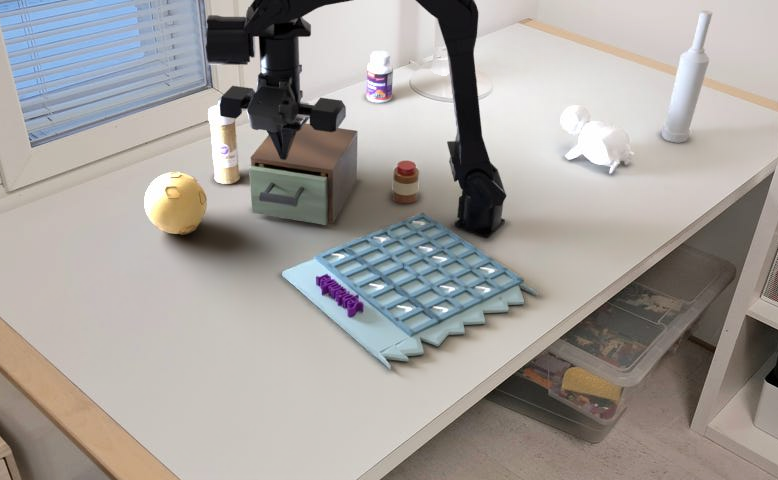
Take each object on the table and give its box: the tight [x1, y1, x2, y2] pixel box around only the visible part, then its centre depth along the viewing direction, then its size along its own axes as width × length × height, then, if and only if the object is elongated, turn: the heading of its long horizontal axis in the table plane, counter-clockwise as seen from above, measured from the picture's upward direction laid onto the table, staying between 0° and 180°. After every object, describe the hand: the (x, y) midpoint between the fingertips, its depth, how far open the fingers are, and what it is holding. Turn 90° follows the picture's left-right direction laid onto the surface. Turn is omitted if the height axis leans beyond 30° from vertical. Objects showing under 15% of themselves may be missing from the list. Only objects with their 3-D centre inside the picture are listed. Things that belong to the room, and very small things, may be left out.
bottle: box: [661, 9, 713, 144], centre depth 166 cm, size 5×5×25 cm
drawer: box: [248, 163, 329, 226], centre depth 146 cm, size 18×13×8 cm
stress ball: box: [144, 171, 208, 236], centre depth 141 cm, size 10×10×10 cm
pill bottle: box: [366, 49, 394, 104], centre depth 183 cm, size 5×5×10 cm
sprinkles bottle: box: [207, 104, 241, 185], centre depth 153 cm, size 5×5×14 cm
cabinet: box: [250, 122, 359, 224], centre depth 150 cm, size 15×14×10 cm
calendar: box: [281, 212, 539, 370], centre depth 132 cm, size 27×28×2 cm
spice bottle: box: [391, 160, 420, 204], centre depth 152 cm, size 4×4×6 cm
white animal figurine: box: [560, 104, 635, 174], centre depth 165 cm, size 9×8×15 cm
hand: (284, 158), depth 137 cm, fingers closed
